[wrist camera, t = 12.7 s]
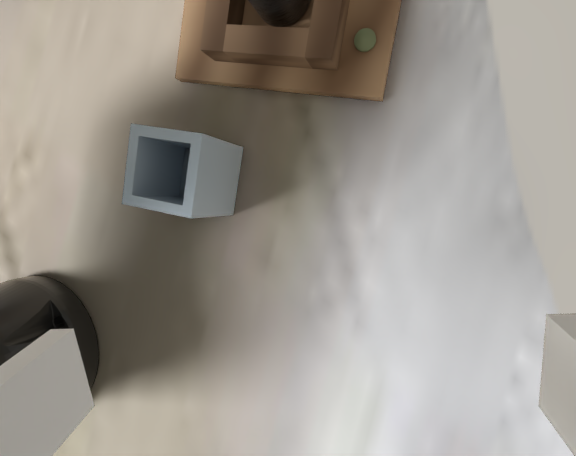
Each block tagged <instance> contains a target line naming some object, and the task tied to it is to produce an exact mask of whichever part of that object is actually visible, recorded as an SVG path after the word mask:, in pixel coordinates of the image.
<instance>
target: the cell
mask: <svg viewBox="0 0 576 456" xmlns="http://www.w3.org/2000/svg"><path fill="white" fill-rule="evenodd" d="M248 1H249V2H250V3H251V5H252V6H253V7H254V9H255V10H256V11H257V13H258V14H259V15H260V17H261V18H262V19H263V20H264V21H265V22H266V23H268V24H269V25H272V26H275V27H285V26H288V25H291V24H293V23H295V22H296V21H298V20H299V19H300V18H301V17H302V16H303V15H304V13H305V12H306V10H307V9H308V7H309V4H310V1H311V0H248Z"/></svg>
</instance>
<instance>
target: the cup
mask: <svg viewBox="0 0 576 456" xmlns="http://www.w3.org/2000/svg"><path fill="white" fill-rule="evenodd" d="M242 154H243V147H241V146H238V145H235V144H232V143H229V142H226V141H223V140H220V139H217V138H214V137H212V136H209V135H206V134H203V133H196V132H188V131H181V130H174V129H167V128H160V127H153V126H145V125H138V124H131V127H130V136H129V145H128V154H127V162H126V171H125V180H124V189H123V198H122V204H125V205H130V206H134V207H139V208H144V209H148V210H153V211H158V212H163V213H167V214H172V215H177V216H181V217H186V218H204V217H216V216H229V215H233V214H234V207H235V201H236V194H237V187H238V181H239V174H240V167H241V161H242Z"/></svg>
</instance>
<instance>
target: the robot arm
mask: <svg viewBox="0 0 576 456" xmlns="http://www.w3.org/2000/svg"><path fill="white" fill-rule="evenodd" d="M97 367H98V344H97V338H96V334H95V330H94V327H93V324H92V321H91V319H90V317H89V315H88V313H87V311H86V309H85V308H84V306H83V304H82V303H81V302H80V300H79V299H78V298H77V297H76V296H75V295H74V294H73V292H72V291H70V290H69V289H68V288H67V287H66V286H64V285H63V284H61V283H59V282H58V281H56V280H53V279H51V278H48V277H44V276H28V277H23V278H18V279H13V280H9V281H6V282H3V283H0V456H52V455H53V454H54V453H55V452H56V451H57V449H58V448H59V447H60V446H61V445H62V444H63V442H64V441H65V440H66V439H67V438H68V436H69V435H70V434H71V433H72V432H73V431H74V429H75V428H76V427H77V426H78V425H79V423H80V422H81V421H82V420H83V419H84V418H85V416H86V415H87V414H88V413H89V412H90V411H91V409H92V408H93V407H94V406H95V405H94V402H93V398H92V394H91V391H90V389H91V387H92V385H93V383H94V380H95V377H96V373H97ZM539 408H540V409H541V410H542V412H543V413H544V414H545V416H546V417H547V419H548V420H549V421H550V423H551V424H552V426H553V427H554V428H555V430H556V431H557V432H558V434H559V435H560V437H561V438H562V439H563V441H564V442H565V444H566V445H567V446H568V448H569V449H570V451H571V452H572V453H573V455H574V456H576V313H575V314H546V324H545V336H544V348H543V360H542V372H541V384H540V396H539Z"/></svg>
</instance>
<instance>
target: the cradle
mask: <svg viewBox="0 0 576 456" xmlns="http://www.w3.org/2000/svg"><path fill="white" fill-rule="evenodd" d="M401 2H402V0H311V1H310V4H309V7H308V9H307V10H306V12H305V13H304V15H303V16H302V17H301V18H300V19H299V20H298V21H296V22H295V23H293V24H291V25H288V26H285V27H275V26H272V25H269V24H268V23H266V22H265V21H264V20H263V19H262V18H261V17H260V15H259V14H258V13H257V11H256V10H255V9H254V7H253V6H252V5H251V3H250V2H249V1H248V0H185V3H184V11H183V19H182V27H181V35H180V43H179V51H178V59H177V67H176V75H175V78H176V79H178V80H180V81H181V82H191V83H201V84H212V85H222V86H232V87H242V88H252V89H262V90H273V91H283V92H293V93H303V94H313V95H323V96H334V97H344V98H354V99H364V100H374V101H383V96H384V91H385V86H386V80H387V75H388V70H389V65H390V59H391V54H392V49H393V44H394V39H395V33H396V28H397V23H398V18H399V12H400V7H401Z"/></svg>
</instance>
